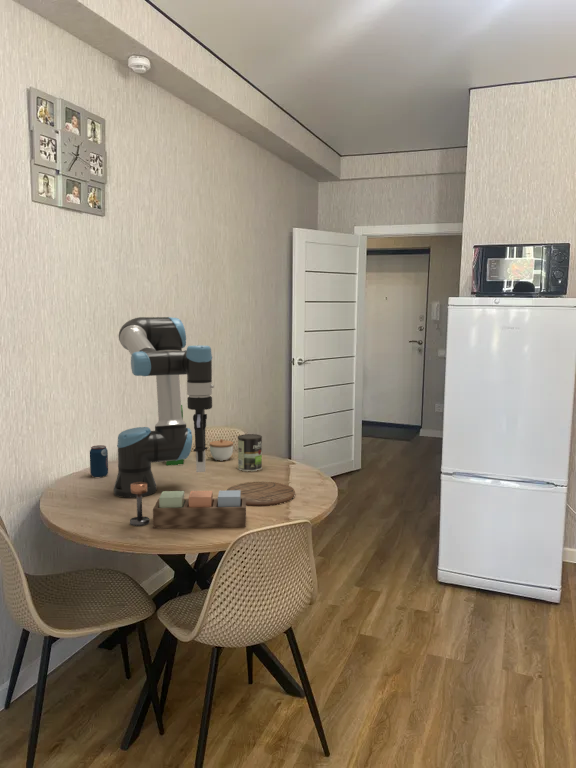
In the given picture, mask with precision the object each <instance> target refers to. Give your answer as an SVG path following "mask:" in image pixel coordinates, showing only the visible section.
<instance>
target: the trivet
mask: <svg viewBox="0 0 576 768" xmlns="http://www.w3.org/2000/svg"><path fill="white" fill-rule="evenodd" d="M226 490H241V498H246V507H270V505H272V506H277V504H278V505H281V504H280V503H283V504H285V503H284V502H286V503H288V502H287V501H289V500H291V499H292V498H293V497H294V495H295V496H296V491H295V489H294V487H292V486H290V485H288V484H286V483H281V482H275V481H250V482H249V481H248V482H243V483H236V484H234V485H232V486H229V487H228V488H227V489H226ZM294 498H295V497H294ZM292 500H293V499H292ZM292 500H291V501H292ZM289 502H290V501H289Z"/></svg>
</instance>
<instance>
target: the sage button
mask: <svg viewBox="0 0 576 768" xmlns="http://www.w3.org/2000/svg"><path fill="white" fill-rule="evenodd" d="M158 499H159V508H181V507H183V506H184V503H185V499H186V497H185V490H172V491H171V490H170V491H169V490H165V491H162V492H161V494H160V495H159V497H158Z"/></svg>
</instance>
